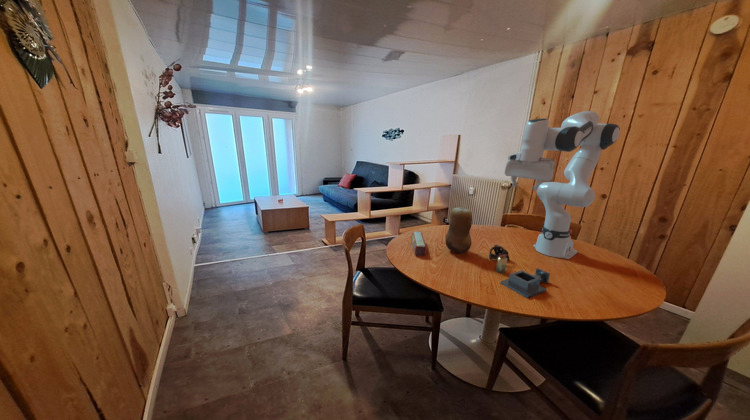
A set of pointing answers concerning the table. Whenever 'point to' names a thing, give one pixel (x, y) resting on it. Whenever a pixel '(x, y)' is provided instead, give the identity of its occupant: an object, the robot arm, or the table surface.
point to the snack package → (418, 244)
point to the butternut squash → (459, 231)
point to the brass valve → (501, 264)
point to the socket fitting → (527, 282)
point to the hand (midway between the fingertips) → (524, 188)
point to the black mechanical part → (498, 252)
